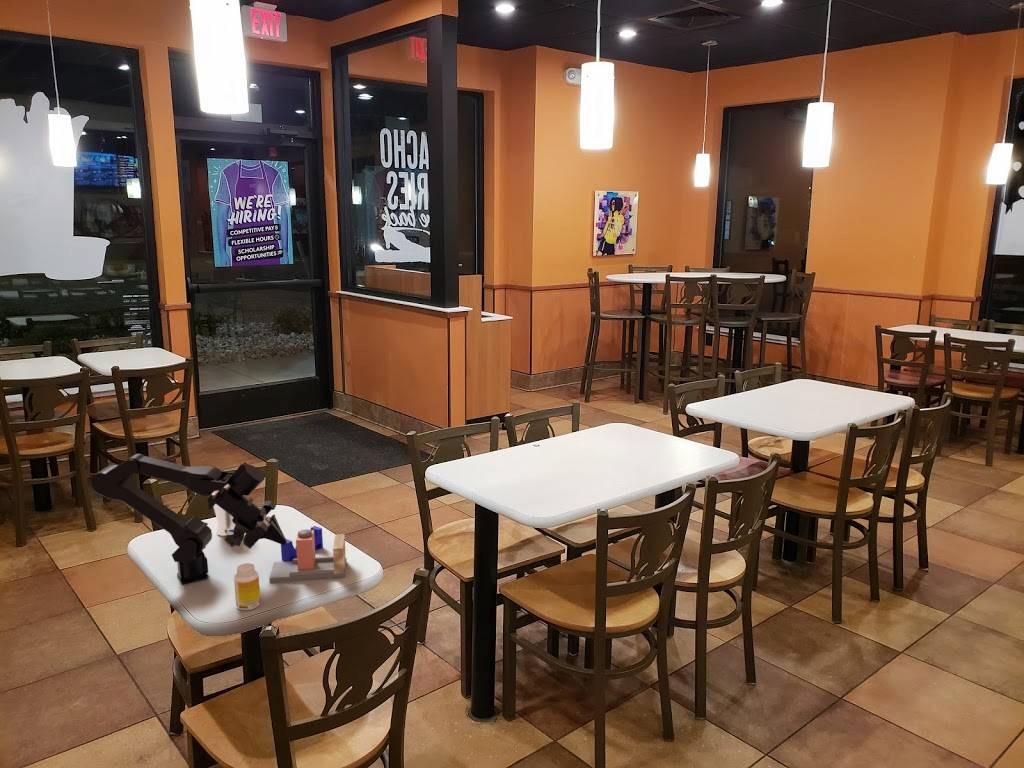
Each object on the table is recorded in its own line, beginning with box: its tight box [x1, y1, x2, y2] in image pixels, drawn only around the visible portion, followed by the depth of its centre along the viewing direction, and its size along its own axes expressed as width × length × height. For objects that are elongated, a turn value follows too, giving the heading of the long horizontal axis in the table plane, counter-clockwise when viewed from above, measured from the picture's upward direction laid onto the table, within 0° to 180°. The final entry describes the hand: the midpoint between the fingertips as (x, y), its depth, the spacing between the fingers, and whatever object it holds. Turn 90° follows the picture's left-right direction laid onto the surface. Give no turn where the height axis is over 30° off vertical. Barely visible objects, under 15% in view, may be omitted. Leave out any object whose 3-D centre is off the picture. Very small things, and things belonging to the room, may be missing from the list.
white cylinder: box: [211, 484, 235, 537], centre depth 225 cm, size 7×7×15 cm
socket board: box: [268, 555, 348, 583], centre depth 202 cm, size 19×9×2 cm, turn 99°
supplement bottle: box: [233, 562, 261, 611], centre depth 184 cm, size 6×6×10 cm
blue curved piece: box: [280, 525, 324, 562], centre depth 213 cm, size 12×4×6 cm, turn 145°
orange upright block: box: [295, 529, 317, 571], centre depth 200 cm, size 4×6×10 cm, turn 9°
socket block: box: [332, 533, 347, 574], centre depth 202 cm, size 2×9×7 cm, turn 9°
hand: (285, 543), depth 199 cm, fingers closed
